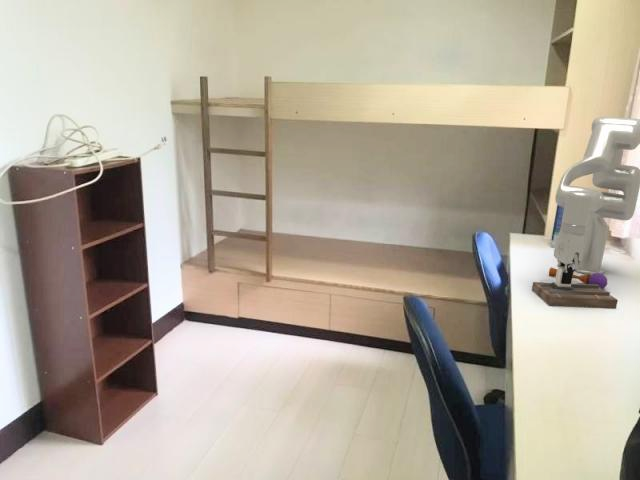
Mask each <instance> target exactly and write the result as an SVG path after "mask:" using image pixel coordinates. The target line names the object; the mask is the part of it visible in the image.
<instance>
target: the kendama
mask: <svg viewBox="0 0 640 480" xmlns="http://www.w3.org/2000/svg"><path fill="white" fill-rule="evenodd" d="M556 273H557V268H554V267H550V268H549V270H548V276H550V277H555V278H556ZM572 279H575V280H576V279H578V280H579V281H580V282H582V284H596V285H599V288H601V289H602V290H604V289H605V288H606V287H607V285H608V278H607V277H606V275H604V274H601V273H595V274H593V275H590V274H582V275H577V274H574V273H573V277H572Z"/></svg>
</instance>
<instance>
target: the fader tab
mask: <svg viewBox="0 0 640 480" xmlns="http://www.w3.org/2000/svg"><path fill="white" fill-rule="evenodd" d="M568 268H569V266H568ZM556 269H557V273H556V277H555V280H554V281H553V282H551V283H552V287H553V288H554V289H558V290H573V287H572V286H571V284H572V283H571V284H562V283H561V280H562V274H563V272H564V270H565V267H563V266H558V267H557V268H556Z"/></svg>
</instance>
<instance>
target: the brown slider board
mask: <svg viewBox="0 0 640 480" xmlns="http://www.w3.org/2000/svg"><path fill="white" fill-rule="evenodd" d="M571 286H572V287H573V290H558V289H554V288H553V287H552V282H545V281H537V282H536V281H533V282H532V287H531V291H532V292H533V293H534V294H535V295H536V296H538V297H539V298H540V299H541V300H542V301H543V302H544V303H545V304H547V305H548V306H549V307H567V308H570V307H571V308H590V309H591V308H592V309H594V308H595V309H617V306H618V301H619V300H618V299H617V298H615V297H614V296H612V295H611V292H610V291H605V290H604V289H601V288H599V285H596V284H585V283H579V282H578V283H571Z"/></svg>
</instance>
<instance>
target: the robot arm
mask: <svg viewBox="0 0 640 480" xmlns="http://www.w3.org/2000/svg"><path fill="white" fill-rule="evenodd" d="M639 145H640V118H630V117H628V118H627V117H615V116H599V117H596V118H594V119H593V120H592V123H591V135H590V137H589V140H588V143H587V146H586V149H585V151H584V154H583V155H584V156H583V158H582V159H581V160H579V161H578V162H576V163H574V164H573V165H572V166H571V167H569V168H568V169H567V170H566V171H565V172H564V174H562V177H561V179H560V181H559V184H558V187H557V190H556V193H555V198H554V200H555V203H556V206H557V205H559V206H561V207H564V212H563V218H562V223H561V229H560V232H559V234H558V237H557V241H556V245H555V248H554V250H553V257H554V258H555V259H556V260H557V266H556V267H557V268H558V266H563V267H565V270H564V272H563V274H562V280H561V283H562V284H572V282H573V278H572V277H573V274H574V273H575V272H577V273H581V274H583V275H586V274H590V275H593V274H595V273H601V274H603V275H604V274H605V269H604V268H603V267H602V263H603V259H604V255H605V254H604V253H605V250H606V249H605V248H606V244H607V239H608V234H609V226H608V224H607V222H606V219H613V220H618V221H629V220H631V219H632V218H633V216H634V214H635V213H636V212H635V211H636V207H637V202H638V197H639V193H640V168H639V167H637V166H633V165H626V164H622V160H623V159H622V158H623V156H624V155H623V154H624V151H625V150H627V151H632V150H635V149H637V148H638V146H639ZM588 175H592V179H591V180H592V181H591V183H592V184H593V186H594V187H597V188H599V189H605V190H611V191H618V192H622V193H623V194H621V193H613V192H608V191H601V190H598V189H596V188H590V187H583V186H575V185H571V184H572V183H573V182H574V181H576V180H577V179H579V178H581V177H584V176H588ZM605 218H606V219H605ZM568 267H569V268H568Z"/></svg>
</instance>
